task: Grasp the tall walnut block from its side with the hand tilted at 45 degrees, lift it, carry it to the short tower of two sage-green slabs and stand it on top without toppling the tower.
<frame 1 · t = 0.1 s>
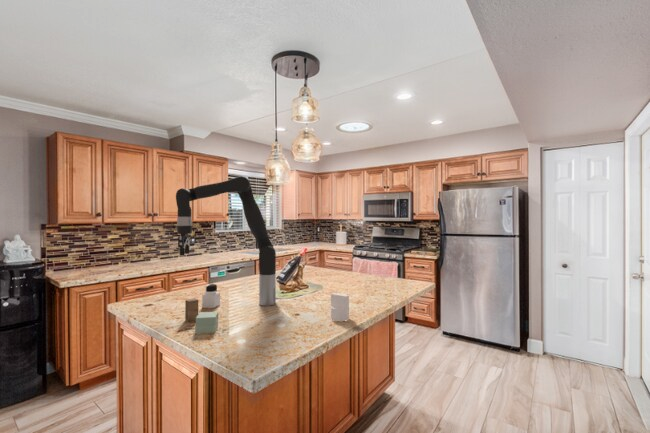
hand: (184, 254, 173), 29 cm above the counter, tool pointing down, fingers open, 8 cm apart
light grey block: (339, 319, 153), on the counter
sage slab lower: (206, 330, 138), on the counter, touching sage slab upper
sage slab upper: (207, 322, 138), point 3 cm above the counter, touching sage slab lower
walnut block: (191, 320, 151), on the counter
medicine bottle: (211, 306, 175), on the counter
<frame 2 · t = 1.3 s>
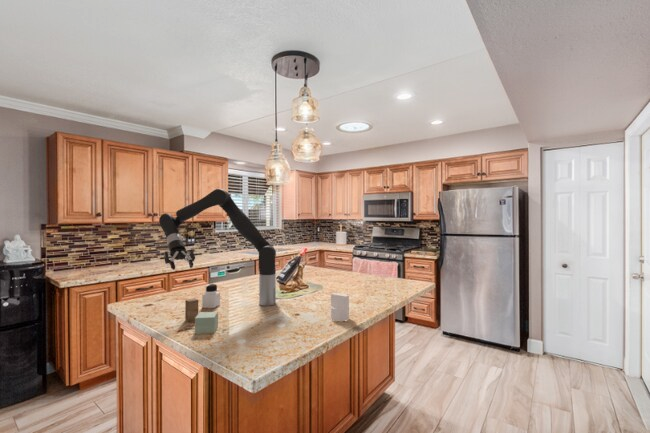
hand: (183, 267, 159), 24 cm above the counter, tool tilted 45°, fingers open, 8 cm apart
nothing on the counter moved.
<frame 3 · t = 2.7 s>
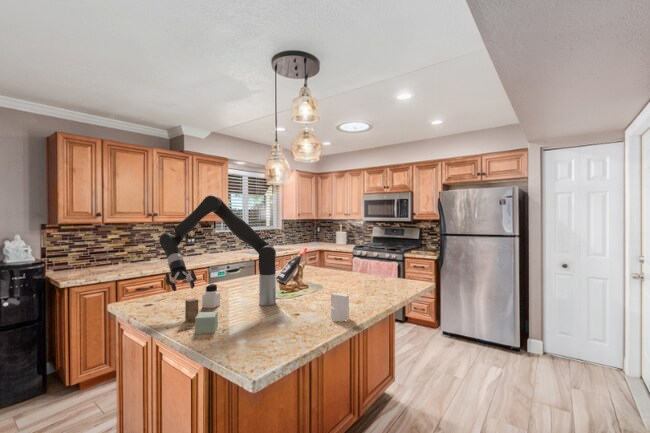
hand: (184, 289, 158), 13 cm above the counter, tool tilted 45°, fingers open, 8 cm apart
nothing on the counter moved.
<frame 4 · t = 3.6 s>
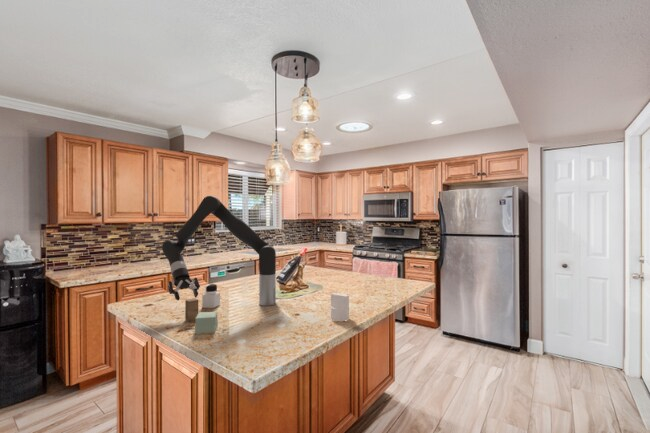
hand: (187, 297, 155), 10 cm above the counter, tool tilted 45°, fingers open, 8 cm apart
nothing on the counter moved.
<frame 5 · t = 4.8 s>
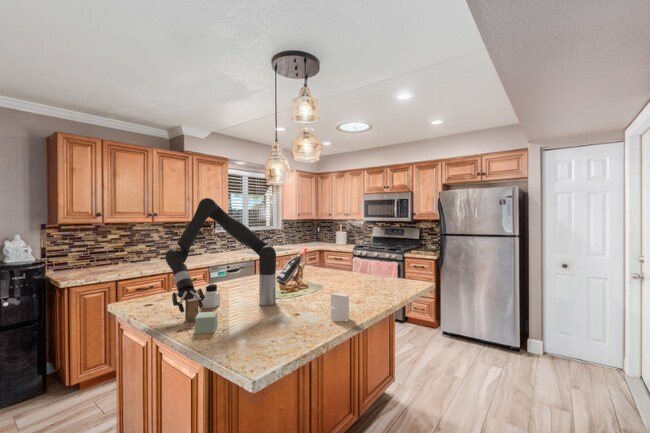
hand: (192, 309, 150), 5 cm above the counter, tool tilted 45°, fingers open, 8 cm apart
nothing on the counter moved.
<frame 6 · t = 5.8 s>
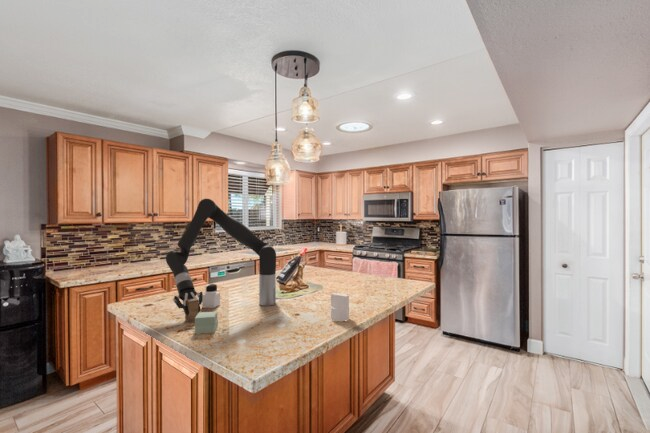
hand: (193, 312, 149), 4 cm above the counter, tool tilted 45°, fingers closed on walnut block, 4 cm apart
walnut block: (191, 320, 151), on the counter, touching gripper
everything else where it was.
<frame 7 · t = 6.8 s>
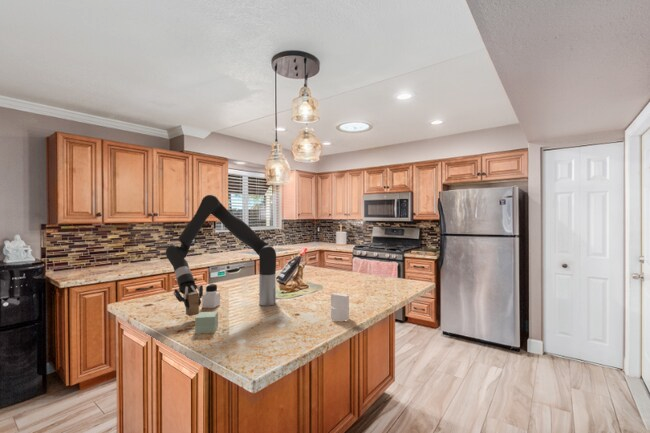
hand: (193, 306, 149), 7 cm above the counter, tool tilted 45°, fingers closed on walnut block, 4 cm apart
walnut block: (192, 313, 151), point 3 cm above the counter, touching gripper
everything else where it was.
when the fingers open (12 cm above the counter, at t = 11.9 s): walnut block drops 2 cm, resting on sage slab upper.
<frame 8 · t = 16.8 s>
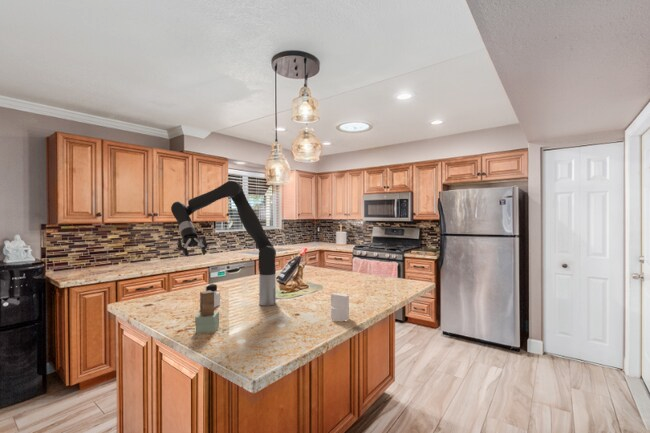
hand: (196, 254, 159), 31 cm above the counter, tool tilted 45°, fingers open, 8 cm apart
sage slab upper: (207, 322, 139), point 3 cm above the counter, touching sage slab lower, walnut block
walnut block: (207, 314, 139), point 7 cm above the counter, touching sage slab upper
everything else where it was.
at the end: walnut block inside the target area on the sage slab lower (0.2 cm from its centre), point 7.0 cm above the sage slab lower's base; walnut block tilted 0°; sage slab upper moved 1.0 cm from its start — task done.
